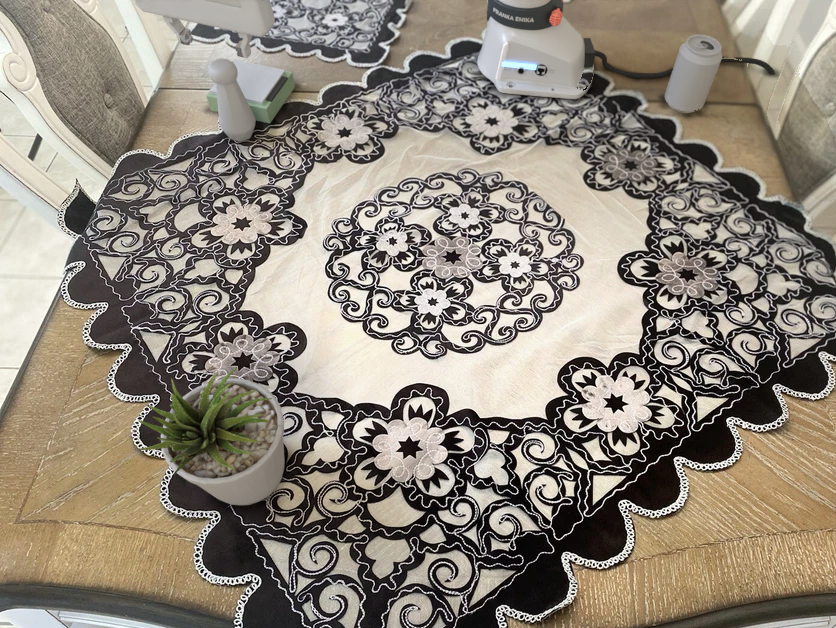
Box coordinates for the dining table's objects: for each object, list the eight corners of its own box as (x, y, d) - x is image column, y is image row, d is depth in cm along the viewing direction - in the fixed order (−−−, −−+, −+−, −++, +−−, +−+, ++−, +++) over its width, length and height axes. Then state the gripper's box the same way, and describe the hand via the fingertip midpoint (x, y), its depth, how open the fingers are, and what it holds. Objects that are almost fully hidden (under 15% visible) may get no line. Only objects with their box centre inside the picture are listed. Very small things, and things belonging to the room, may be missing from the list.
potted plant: (191, 428, 84) (132, 336, 67) (304, 424, 85) (273, 332, 69) (174, 525, 77) (103, 450, 60) (296, 520, 78) (260, 444, 62)
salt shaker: (262, 125, 116) (245, 55, 105) (253, 146, 113) (234, 77, 102) (229, 121, 116) (208, 51, 105) (218, 142, 113) (196, 72, 102)
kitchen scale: (295, 86, 122) (291, 68, 119) (270, 123, 116) (265, 105, 113) (238, 74, 123) (233, 56, 120) (210, 110, 117) (205, 92, 114)
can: (711, 107, 126) (734, 48, 116) (682, 120, 124) (704, 60, 114) (683, 86, 130) (704, 26, 120) (654, 98, 127) (673, 38, 117)
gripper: (271, -44, 91) (288, 51, 102) (131, -73, 93) (164, 24, 104) (251, -21, 87) (271, 75, 99) (106, -52, 89) (142, 46, 101)
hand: (215, 49), depth 102 cm, fingers open, 8 cm apart
